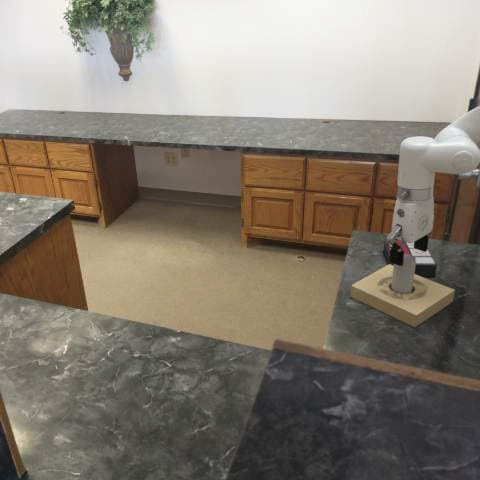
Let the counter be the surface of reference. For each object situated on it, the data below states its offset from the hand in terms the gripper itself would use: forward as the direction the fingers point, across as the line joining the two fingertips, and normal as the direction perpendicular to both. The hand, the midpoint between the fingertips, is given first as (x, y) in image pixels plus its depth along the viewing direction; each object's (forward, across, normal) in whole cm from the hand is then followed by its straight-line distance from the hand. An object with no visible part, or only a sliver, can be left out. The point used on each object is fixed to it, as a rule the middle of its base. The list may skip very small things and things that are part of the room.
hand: (408, 256), depth 124 cm
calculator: (+13, +17, +10) cm, 23 cm away
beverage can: (+13, -1, +1) cm, 13 cm away
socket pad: (+12, -1, +1) cm, 12 cm away
